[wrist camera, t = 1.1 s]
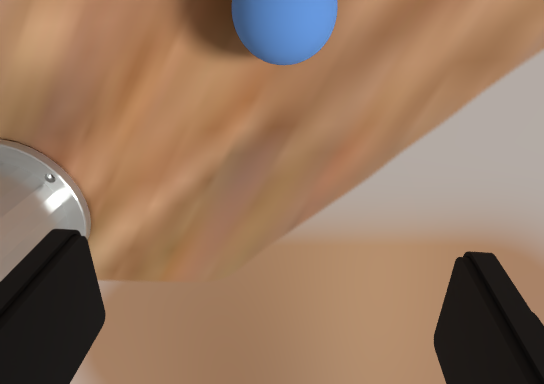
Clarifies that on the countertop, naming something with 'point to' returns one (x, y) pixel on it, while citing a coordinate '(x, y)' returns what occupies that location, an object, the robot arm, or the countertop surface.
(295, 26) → the ball
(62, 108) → the countertop surface
